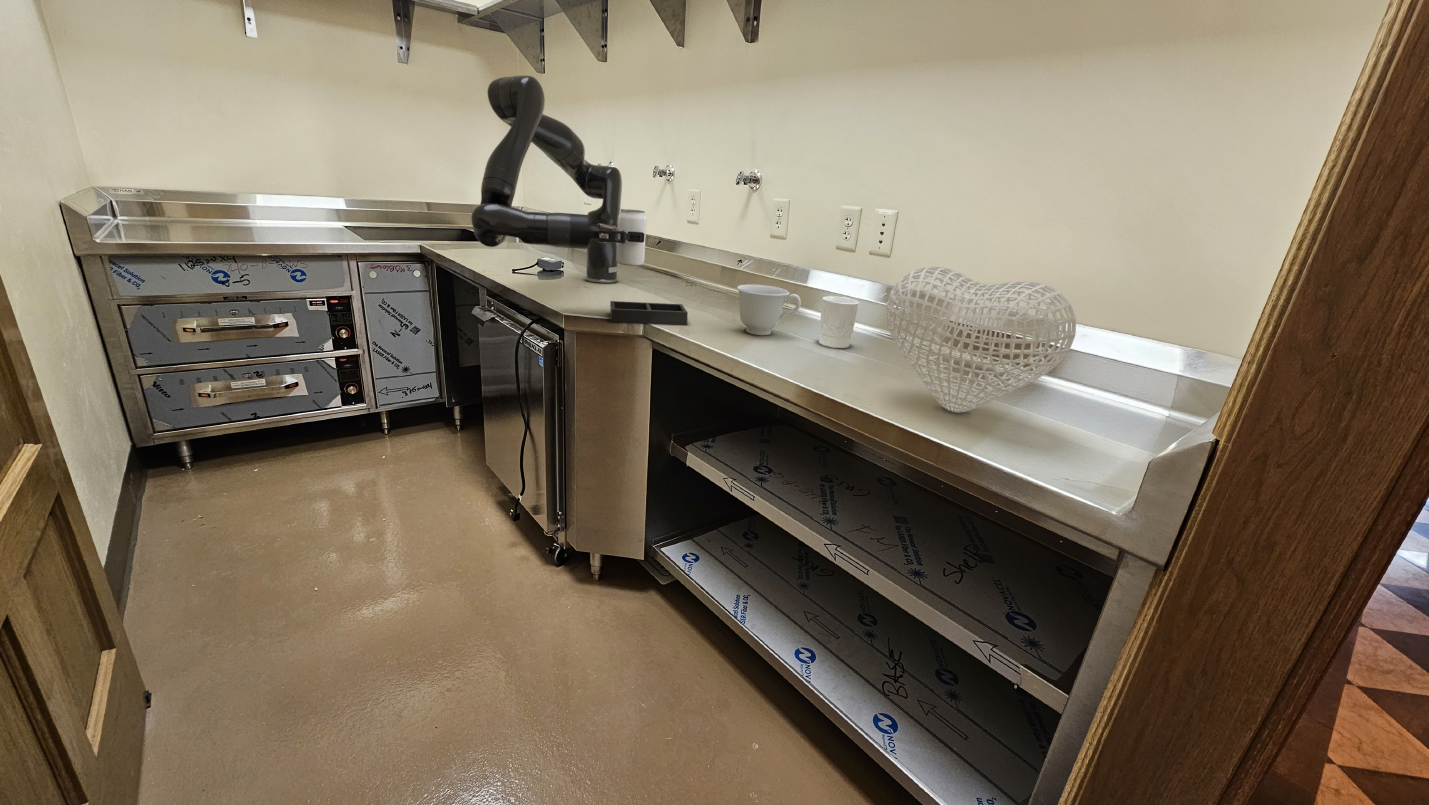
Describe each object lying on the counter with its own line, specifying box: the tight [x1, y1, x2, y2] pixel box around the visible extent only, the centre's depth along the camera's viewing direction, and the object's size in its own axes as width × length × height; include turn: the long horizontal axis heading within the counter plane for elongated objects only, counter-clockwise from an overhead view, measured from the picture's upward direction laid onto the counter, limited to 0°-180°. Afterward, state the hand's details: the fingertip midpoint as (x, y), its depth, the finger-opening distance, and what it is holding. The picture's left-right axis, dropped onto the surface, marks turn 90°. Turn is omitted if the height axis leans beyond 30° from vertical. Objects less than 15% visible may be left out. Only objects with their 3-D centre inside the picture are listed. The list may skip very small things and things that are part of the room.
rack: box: [609, 300, 689, 326], centre depth 144 cm, size 9×17×3 cm, turn 101°
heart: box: [885, 266, 1077, 413], centre depth 96 cm, size 28×16×22 cm, turn 46°
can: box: [616, 208, 647, 267], centre depth 140 cm, size 6×6×12 cm
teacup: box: [736, 283, 802, 336], centre depth 138 cm, size 12×15×10 cm
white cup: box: [818, 295, 860, 349], centre depth 134 cm, size 8×8×10 cm
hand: (641, 235), depth 141 cm, fingers closed on can, 6 cm apart
